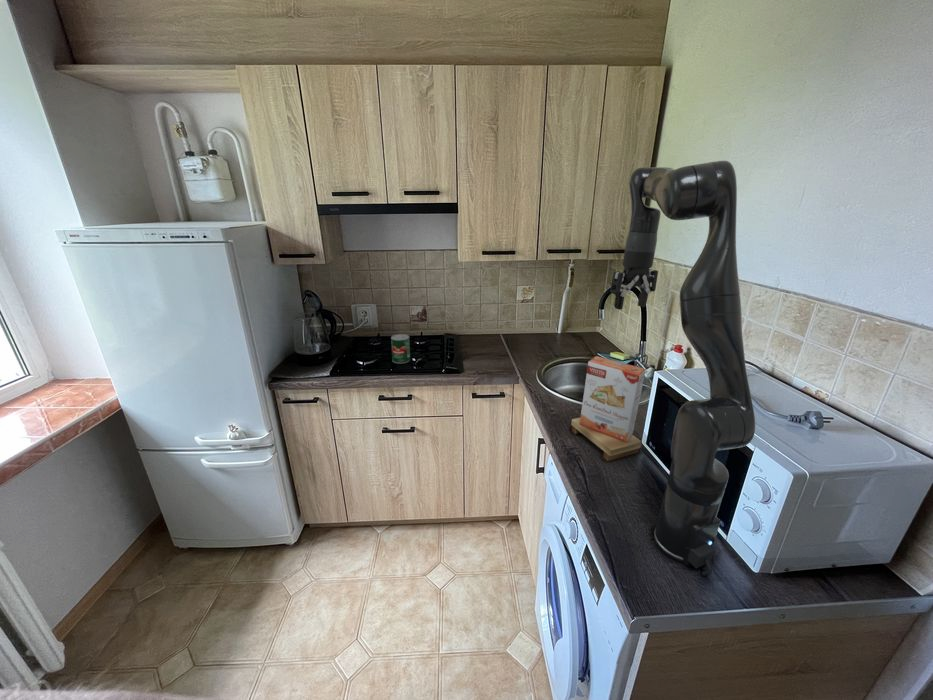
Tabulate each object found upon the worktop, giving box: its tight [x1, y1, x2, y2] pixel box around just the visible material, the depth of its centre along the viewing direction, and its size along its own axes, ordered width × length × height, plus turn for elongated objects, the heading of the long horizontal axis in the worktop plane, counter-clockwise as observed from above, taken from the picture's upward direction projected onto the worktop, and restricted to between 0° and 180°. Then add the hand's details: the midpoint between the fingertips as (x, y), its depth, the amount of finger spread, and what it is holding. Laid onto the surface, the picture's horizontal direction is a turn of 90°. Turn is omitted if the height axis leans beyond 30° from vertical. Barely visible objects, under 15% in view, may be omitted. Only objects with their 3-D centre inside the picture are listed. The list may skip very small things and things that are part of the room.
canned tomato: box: [390, 333, 411, 365], centre depth 167 cm, size 8×8×11 cm
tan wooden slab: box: [570, 417, 643, 462], centre depth 112 cm, size 17×11×4 cm, turn 22°
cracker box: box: [579, 355, 647, 442], centre depth 107 cm, size 14×6×21 cm, turn 50°
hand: (630, 307), depth 108 cm, fingers open, 8 cm apart
